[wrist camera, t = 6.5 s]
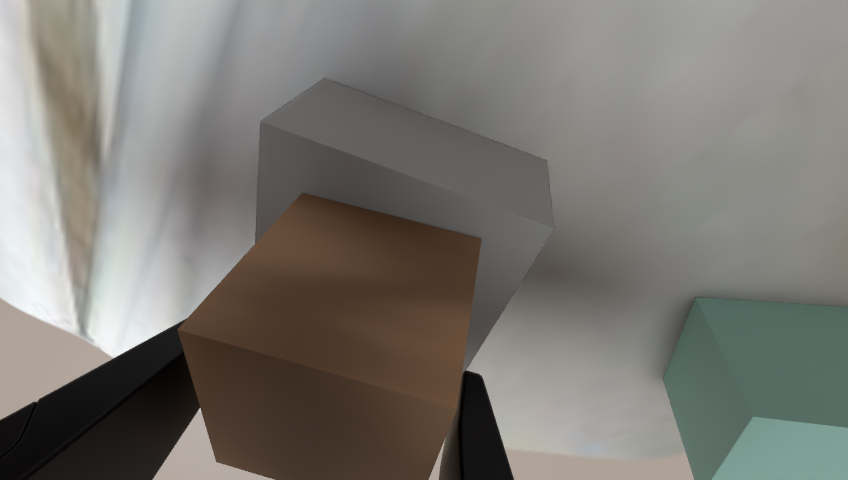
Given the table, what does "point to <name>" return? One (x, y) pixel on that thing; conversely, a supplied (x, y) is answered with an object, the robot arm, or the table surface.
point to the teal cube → (762, 390)
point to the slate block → (410, 182)
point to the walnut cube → (335, 346)
